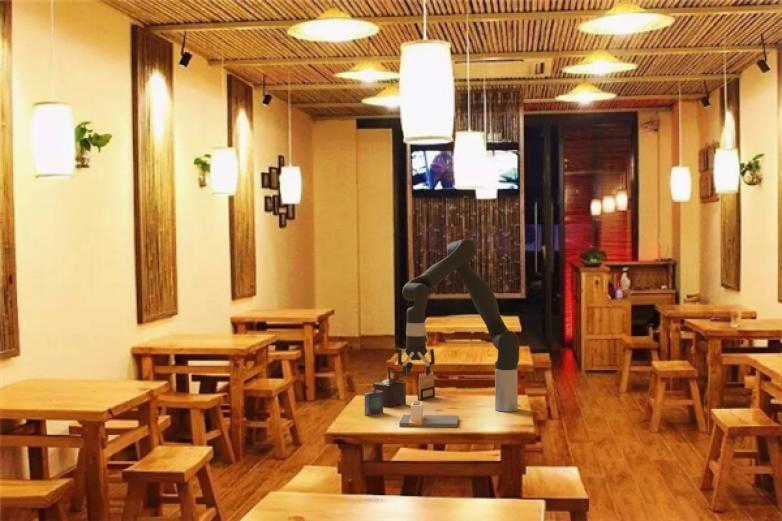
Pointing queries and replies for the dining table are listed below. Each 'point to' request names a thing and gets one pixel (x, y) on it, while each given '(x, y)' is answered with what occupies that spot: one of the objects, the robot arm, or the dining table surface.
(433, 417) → the board
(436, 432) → the dining table surface
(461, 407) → the dining table surface
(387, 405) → the black coffee grinder
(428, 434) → the dining table surface
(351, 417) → the dining table surface
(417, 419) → the block
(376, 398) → the flask
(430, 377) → the ammunition clip
